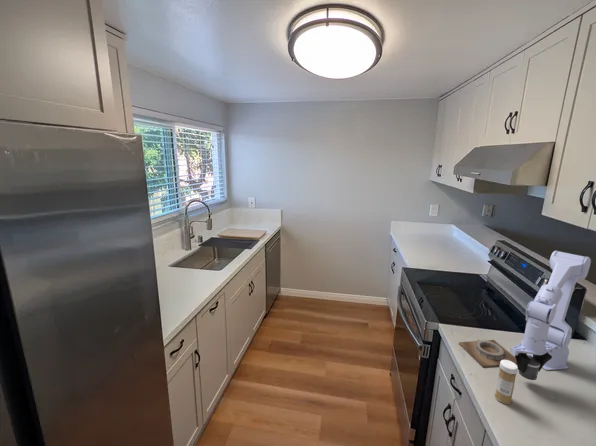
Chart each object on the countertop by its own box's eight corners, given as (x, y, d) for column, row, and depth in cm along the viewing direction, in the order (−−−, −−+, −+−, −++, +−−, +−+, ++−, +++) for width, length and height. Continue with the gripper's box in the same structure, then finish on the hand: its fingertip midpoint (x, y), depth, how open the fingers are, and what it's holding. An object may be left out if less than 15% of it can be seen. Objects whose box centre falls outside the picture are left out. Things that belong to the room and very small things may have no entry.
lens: (527, 368, 101) (530, 354, 99) (541, 379, 96) (544, 364, 94) (514, 369, 100) (517, 355, 99) (527, 380, 95) (530, 365, 94)
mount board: (493, 341, 122) (494, 335, 121) (521, 364, 108) (522, 358, 108) (458, 343, 120) (459, 338, 120) (482, 367, 107) (483, 361, 106)
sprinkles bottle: (513, 400, 92) (520, 365, 89) (507, 407, 90) (514, 371, 87) (497, 391, 96) (504, 357, 93) (491, 397, 93) (497, 362, 90)
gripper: (543, 327, 99) (536, 360, 102) (505, 330, 98) (499, 363, 101) (564, 339, 92) (556, 375, 95) (523, 343, 91) (516, 378, 94)
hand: (528, 370), depth 98 cm, fingers closed on lens, 5 cm apart
